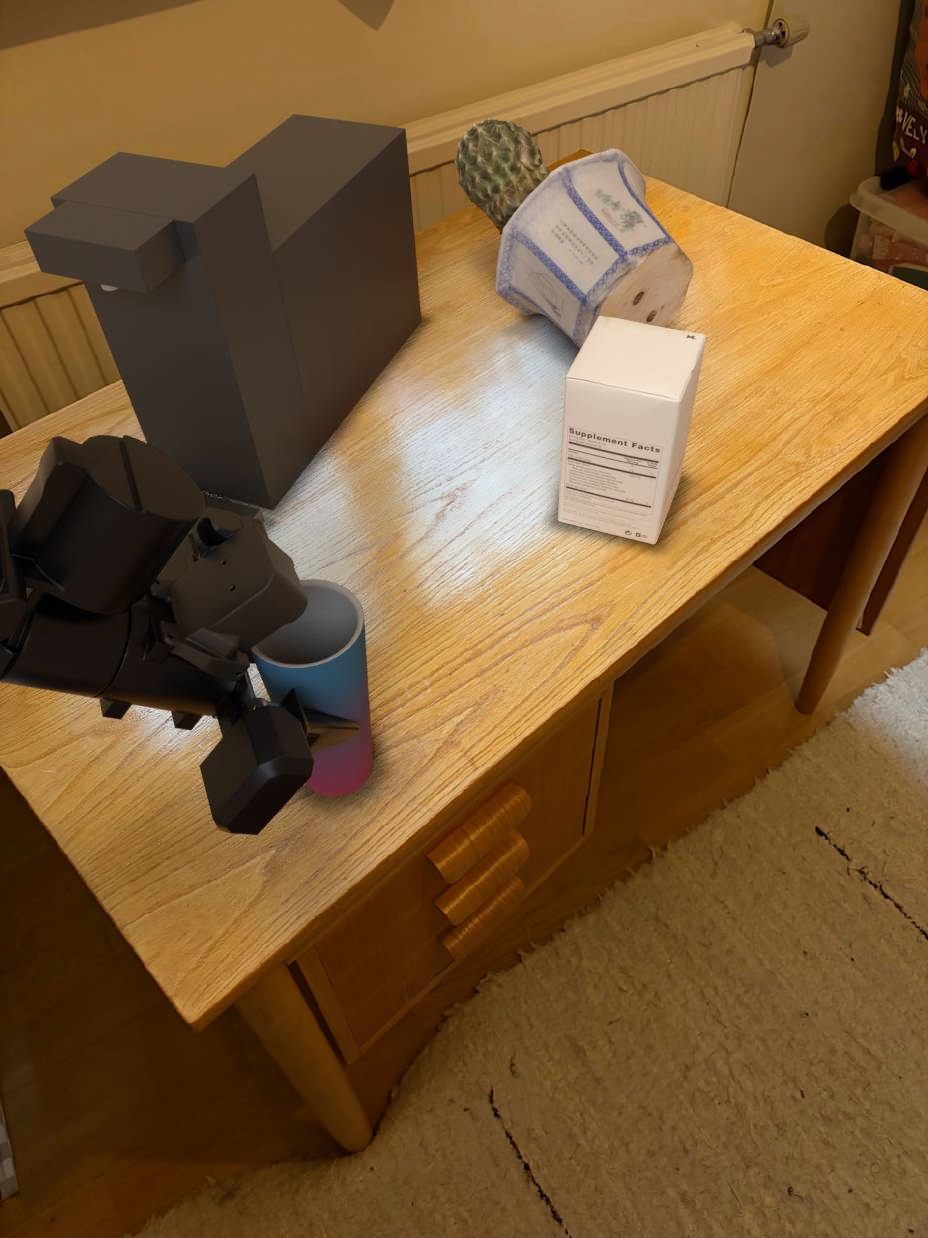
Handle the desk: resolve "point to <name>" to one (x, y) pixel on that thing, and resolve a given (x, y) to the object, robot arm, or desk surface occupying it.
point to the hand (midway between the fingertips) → (340, 694)
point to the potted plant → (572, 233)
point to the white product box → (627, 426)
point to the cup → (325, 678)
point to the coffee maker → (246, 291)
